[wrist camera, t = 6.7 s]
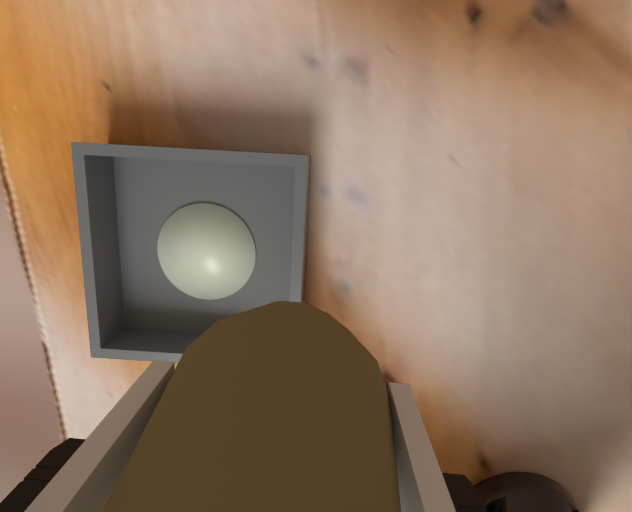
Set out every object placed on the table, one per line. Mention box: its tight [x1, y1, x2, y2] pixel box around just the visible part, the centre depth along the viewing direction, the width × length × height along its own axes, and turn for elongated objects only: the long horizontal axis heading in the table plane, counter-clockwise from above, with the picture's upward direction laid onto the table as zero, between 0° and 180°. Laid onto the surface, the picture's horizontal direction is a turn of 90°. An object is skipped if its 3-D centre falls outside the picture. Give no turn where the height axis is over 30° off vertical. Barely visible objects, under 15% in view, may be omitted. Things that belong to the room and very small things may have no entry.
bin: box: [71, 142, 311, 363], centre depth 37 cm, size 20×20×6 cm
